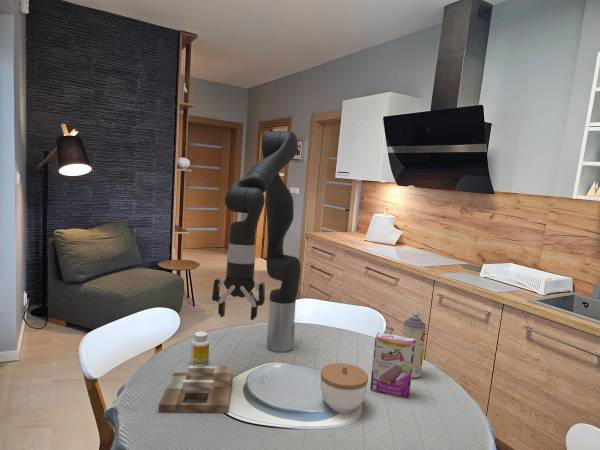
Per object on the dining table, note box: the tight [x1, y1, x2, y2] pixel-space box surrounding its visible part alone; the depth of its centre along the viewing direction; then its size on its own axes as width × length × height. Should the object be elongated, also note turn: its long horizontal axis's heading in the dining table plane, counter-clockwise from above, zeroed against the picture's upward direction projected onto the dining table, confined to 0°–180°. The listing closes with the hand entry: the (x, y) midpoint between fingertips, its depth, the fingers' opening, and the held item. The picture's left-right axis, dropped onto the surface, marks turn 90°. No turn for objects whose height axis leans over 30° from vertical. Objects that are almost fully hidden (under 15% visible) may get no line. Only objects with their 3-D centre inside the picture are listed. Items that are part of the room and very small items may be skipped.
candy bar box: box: [369, 331, 416, 399], centre depth 120 cm, size 11×5×16 cm, turn 71°
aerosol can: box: [402, 312, 427, 380], centre depth 131 cm, size 7×7×20 cm
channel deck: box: [158, 365, 234, 414], centre depth 111 cm, size 17×17×4 cm
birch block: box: [214, 364, 233, 387], centre depth 115 cm, size 4×4×4 cm
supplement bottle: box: [190, 331, 210, 366], centre depth 130 cm, size 5×5×10 cm
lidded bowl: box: [320, 362, 369, 414], centre depth 110 cm, size 13×13×11 cm
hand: (237, 317), depth 114 cm, fingers open, 8 cm apart
